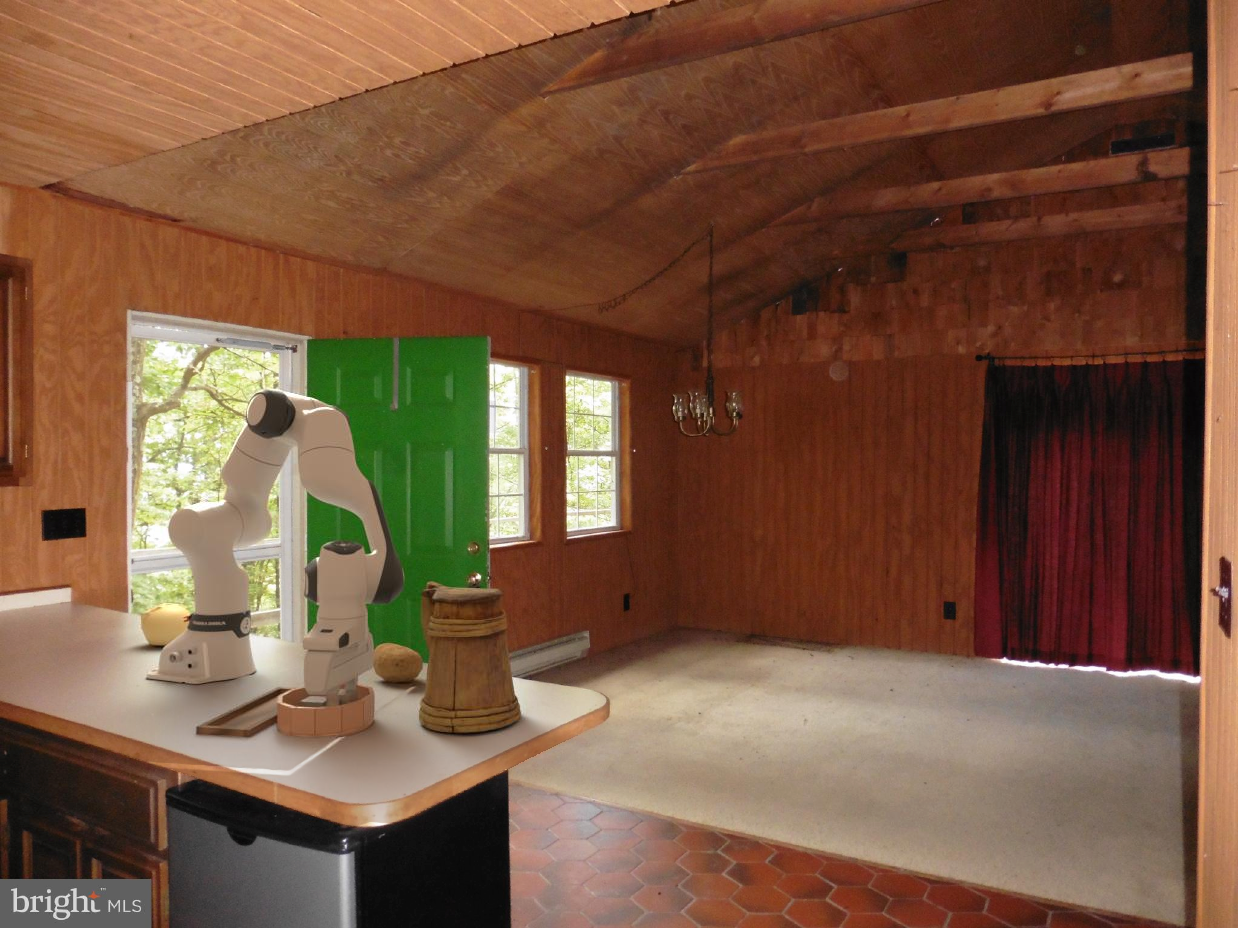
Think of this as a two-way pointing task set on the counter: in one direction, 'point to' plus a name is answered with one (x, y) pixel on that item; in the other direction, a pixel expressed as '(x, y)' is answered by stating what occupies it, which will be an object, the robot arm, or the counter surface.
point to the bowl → (324, 714)
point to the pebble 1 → (313, 702)
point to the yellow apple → (164, 623)
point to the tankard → (466, 661)
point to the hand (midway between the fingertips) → (341, 706)
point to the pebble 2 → (346, 696)
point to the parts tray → (245, 716)
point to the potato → (397, 663)
